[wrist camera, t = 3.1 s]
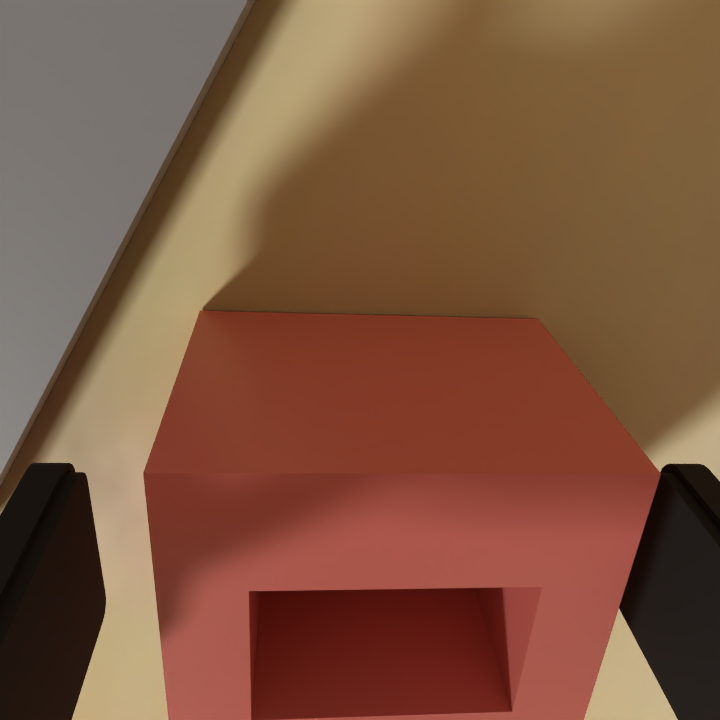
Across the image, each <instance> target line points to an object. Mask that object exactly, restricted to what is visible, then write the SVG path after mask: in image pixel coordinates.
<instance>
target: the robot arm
mask: <svg viewBox="0 0 720 720" xmlns="http://www.w3.org/2000/svg"><path fill="white" fill-rule="evenodd" d="M660 473H661V475H660V479H659V482H658V485H657V488H656V491H655V494H654V498H653V501H652V504H651V507H650V510H649V514H648V517H647V520H646V523H645V526H644V529H643V533H642V536H641V539H640V542H639V545H638V548H637V552H636V555H635V558H634V561H633V564H632V568H631V571H630V574H629V577H628V580H627V583H626V587H625V590H624V593H623V596H622V599H621V603H620V606H619V609H620V611H621V613H622V615H623V616H624V618H625V620H626V622H627V624H628V626H629V628H630V630H631V632H632V633H633V635H634V637H635V639H636V641H637V643H638V645H639V647H640V649H641V651H642V652H643V654H644V656H645V658H646V660H647V662H648V664H649V666H650V668H651V669H652V671H653V673H654V675H655V677H656V679H657V681H658V683H659V685H660V686H661V688H662V690H663V692H664V694H665V696H666V698H667V700H668V702H669V703H670V705H671V707H672V709H673V711H674V713H675V715H676V717H677V719H678V720H720V481H719V480H718V479H717V478H716V477H715V476H714V475H713V473H712V472H711V471H710V470H709V469H708V468H707V467H706V466H704V465H701V464H668V465H665V466H664V467H663V468H662V470H661V472H660ZM105 606H106V595H105V588H104V582H103V575H102V569H101V563H100V556H99V550H98V544H97V538H96V531H95V525H94V519H93V512H92V506H91V500H90V493H89V487H88V481H87V476H86V474H85V473H83V472H75V469H74V467H73V465H72V464H70V463H33V464H31V465H30V466H29V467H28V469H27V470H26V472H25V474H24V476H23V477H22V479H21V481H20V482H19V484H18V486H17V488H16V489H15V491H14V493H13V494H12V496H11V498H10V500H9V501H8V503H7V505H6V506H5V508H4V510H3V512H2V513H1V515H0V720H72V716H73V713H74V710H75V707H76V704H77V701H78V698H79V694H80V691H81V688H82V685H83V682H84V679H85V675H86V672H87V669H88V666H89V663H90V660H91V657H92V653H93V650H94V647H95V644H96V641H97V638H98V635H99V631H100V628H101V625H102V622H103V618H104V614H105Z"/></svg>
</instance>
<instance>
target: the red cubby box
mask: <svg viewBox="0 0 720 720" xmlns="http://www.w3.org/2000/svg"><path fill="white" fill-rule="evenodd" d="M143 474H144V484H145V494H146V503H147V513H148V523H149V533H150V542H151V552H152V562H153V572H154V581H155V591H156V601H157V611H158V620H159V630H160V640H161V650H162V659H163V669H164V679H165V689H166V698H167V708H168V718H169V720H584V717H585V714H586V711H587V707H588V704H589V701H590V698H591V695H592V692H593V688H594V685H595V682H596V679H597V676H598V673H599V669H600V666H601V663H602V660H603V657H604V653H605V650H606V647H607V644H608V641H609V638H610V634H611V631H612V628H613V625H614V622H615V618H616V615H617V612H618V609H619V606H620V603H621V599H622V596H623V593H624V590H625V587H626V583H627V580H628V577H629V574H630V571H631V568H632V564H633V561H634V558H635V555H636V552H637V548H638V545H639V542H640V539H641V536H642V533H643V529H644V526H645V523H646V520H647V517H648V514H649V510H650V507H651V504H652V501H653V498H654V494H655V491H656V488H657V485H658V482H659V479H660V475H661V473H660V472H659V471H658V470H657V468H656V467H655V466H654V465H653V463H652V462H651V461H650V460H649V458H648V457H647V456H646V455H645V453H644V452H643V451H642V450H641V448H640V447H639V446H638V445H637V443H636V442H635V441H634V440H633V438H632V437H631V436H630V434H629V433H628V432H627V431H626V429H625V428H624V427H623V426H622V424H621V423H620V422H619V421H618V419H617V418H616V417H615V416H614V414H613V413H612V412H611V411H610V409H609V408H608V407H607V406H606V404H605V403H604V402H603V401H602V399H601V398H600V397H599V395H598V394H597V393H596V392H595V390H594V389H593V388H592V387H591V385H590V384H589V383H588V382H587V380H586V379H585V378H584V377H583V375H582V374H581V373H580V372H579V370H578V369H577V368H576V367H575V365H574V364H573V363H572V362H571V360H570V359H569V358H568V356H567V355H566V354H565V353H564V351H563V350H562V349H561V348H560V346H559V345H558V344H557V343H556V341H555V340H554V339H553V338H552V336H551V335H550V334H549V333H548V331H547V330H546V329H545V328H544V326H543V325H542V324H541V323H540V321H539V320H538V319H521V318H480V317H439V316H398V315H357V314H316V313H275V312H234V311H200V312H199V315H198V318H197V321H196V324H195V327H194V330H193V332H192V335H191V338H190V341H189V344H188V347H187V350H186V352H185V355H184V358H183V361H182V364H181V367H180V370H179V373H178V375H177V378H176V381H175V384H174V387H173V390H172V393H171V395H170V398H169V401H168V404H167V407H166V410H165V413H164V416H163V418H162V421H161V424H160V427H159V430H158V433H157V436H156V438H155V441H154V444H153V447H152V450H151V453H150V456H149V459H148V461H147V464H146V467H145V470H144V473H143Z"/></svg>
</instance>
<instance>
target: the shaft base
mask: <svg viewBox="0 0 720 720" xmlns="http://www.w3.org/2000/svg"><path fill="white" fill-rule="evenodd" d="M255 1H256V0H0V487H1V485H2V483H3V481H4V479H5V477H6V475H7V473H8V472H9V470H10V468H11V466H12V464H13V462H14V460H15V458H16V456H17V454H18V453H19V451H20V449H21V447H22V445H23V443H24V441H25V439H26V437H27V435H28V433H29V432H30V430H31V428H32V426H33V424H34V422H35V420H36V418H37V416H38V414H39V413H40V411H41V409H42V407H43V405H44V403H45V401H46V399H47V397H48V395H49V394H50V392H51V390H52V388H53V386H54V384H55V382H56V380H57V378H58V376H59V374H60V373H61V371H62V369H63V367H64V365H65V363H66V361H67V359H68V357H69V355H70V354H71V352H72V350H73V348H74V346H75V344H76V342H77V340H78V338H79V336H80V335H81V333H82V331H83V329H84V327H85V325H86V323H87V321H88V319H89V317H90V315H91V314H92V312H93V310H94V308H95V306H96V304H97V302H98V300H99V298H100V296H101V295H102V293H103V291H104V289H105V287H106V285H107V283H108V281H109V279H110V277H111V276H112V274H113V272H114V270H115V268H116V266H117V264H118V262H119V260H120V258H121V257H122V255H123V253H124V251H125V249H126V247H127V245H128V243H129V241H130V239H131V237H132V236H133V234H134V232H135V230H136V228H137V226H138V224H139V222H140V220H141V218H142V217H143V215H144V213H145V211H146V209H147V207H148V205H149V203H150V201H151V199H152V198H153V196H154V194H155V192H156V190H157V188H158V186H159V184H160V182H161V180H162V178H163V177H164V175H165V173H166V171H167V169H168V167H169V165H170V163H171V161H172V159H173V158H174V156H175V154H176V152H177V150H178V148H179V146H180V144H181V142H182V140H183V139H184V137H185V135H186V133H187V131H188V129H189V127H190V125H191V123H192V121H193V119H194V118H195V116H196V114H197V112H198V110H199V108H200V106H201V104H202V102H203V100H204V99H205V97H206V95H207V93H208V91H209V89H210V87H211V85H212V83H213V81H214V80H215V78H216V76H217V74H218V72H219V70H220V68H221V66H222V64H223V62H224V60H225V59H226V57H227V55H228V53H229V51H230V49H231V47H232V45H233V43H234V41H235V40H236V38H237V36H238V34H239V32H240V30H241V28H242V26H243V24H244V22H245V21H246V19H247V17H248V15H249V13H250V11H251V9H252V7H253V5H254V3H255Z"/></svg>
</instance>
